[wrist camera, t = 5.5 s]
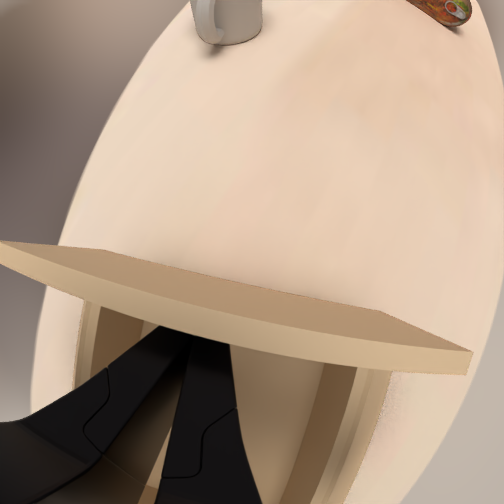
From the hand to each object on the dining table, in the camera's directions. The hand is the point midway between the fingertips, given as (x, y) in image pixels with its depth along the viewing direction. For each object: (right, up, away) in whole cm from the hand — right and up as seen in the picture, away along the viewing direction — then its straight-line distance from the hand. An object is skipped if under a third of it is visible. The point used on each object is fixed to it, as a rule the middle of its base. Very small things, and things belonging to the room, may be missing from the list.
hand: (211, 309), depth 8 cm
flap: (0, +1, +1) cm, 1 cm away
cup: (-2, +25, +17) cm, 30 cm away
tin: (+28, +41, +19) cm, 53 cm away
